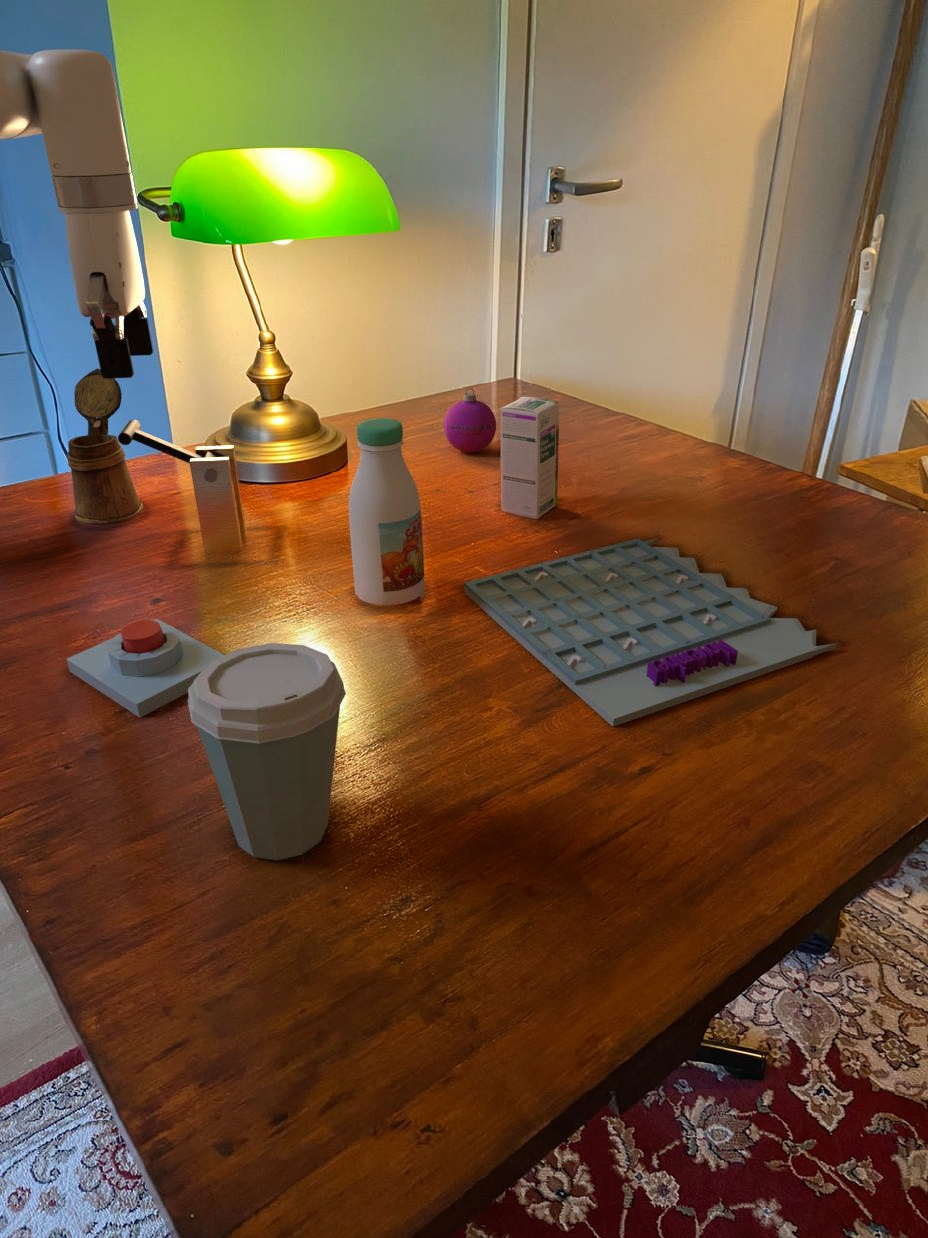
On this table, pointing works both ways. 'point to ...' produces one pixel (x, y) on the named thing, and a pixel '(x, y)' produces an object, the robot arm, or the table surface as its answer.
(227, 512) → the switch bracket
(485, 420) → the christmas ornament
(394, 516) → the milk bottle
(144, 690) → the control block
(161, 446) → the switch
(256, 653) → the disposable coffee cup
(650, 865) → the table surface
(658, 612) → the calendar
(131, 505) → the wooden mug
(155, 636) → the button
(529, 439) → the syrup box
